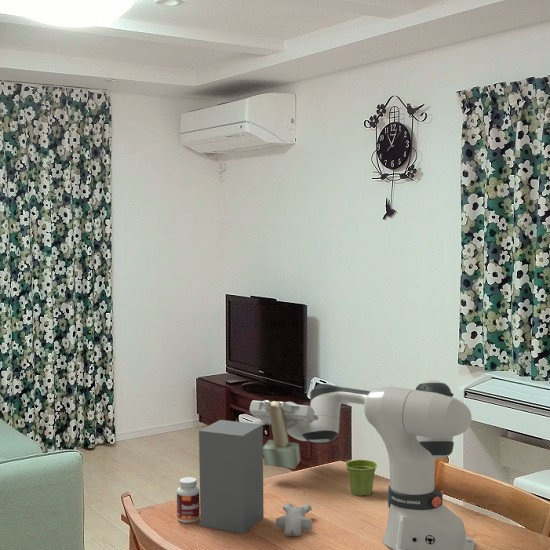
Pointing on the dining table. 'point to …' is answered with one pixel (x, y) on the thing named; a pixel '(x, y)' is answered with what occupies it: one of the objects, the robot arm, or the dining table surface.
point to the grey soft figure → (294, 519)
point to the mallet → (280, 442)
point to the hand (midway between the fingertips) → (273, 403)
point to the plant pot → (361, 476)
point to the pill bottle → (188, 500)
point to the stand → (231, 475)
